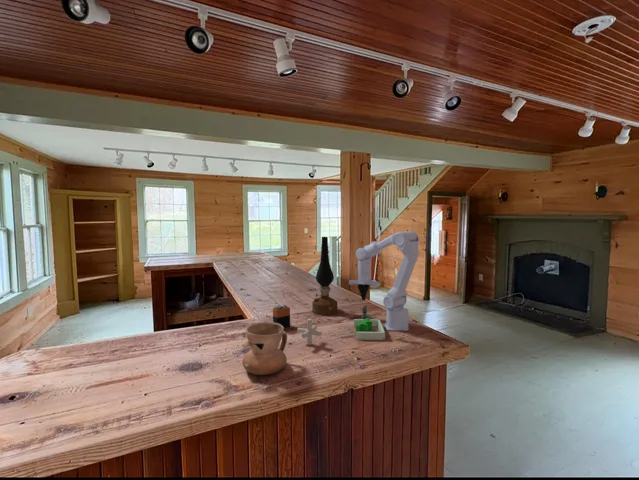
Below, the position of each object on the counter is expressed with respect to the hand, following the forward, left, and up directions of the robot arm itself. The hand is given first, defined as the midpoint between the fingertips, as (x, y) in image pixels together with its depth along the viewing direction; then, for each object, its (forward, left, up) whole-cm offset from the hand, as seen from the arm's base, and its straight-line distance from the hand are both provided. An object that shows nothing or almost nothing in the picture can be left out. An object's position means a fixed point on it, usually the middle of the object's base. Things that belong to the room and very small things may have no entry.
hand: (363, 299), depth 158 cm
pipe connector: (+24, +33, -9) cm, 42 cm away
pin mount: (0, +9, -9) cm, 12 cm away
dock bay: (0, +20, -9) cm, 22 cm away
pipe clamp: (+1, +19, -9) cm, 21 cm away
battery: (+38, +15, -9) cm, 42 cm away
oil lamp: (+19, -9, -9) cm, 23 cm away
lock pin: (0, +6, -8) cm, 9 cm away
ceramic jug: (+37, +53, -9) cm, 65 cm away
